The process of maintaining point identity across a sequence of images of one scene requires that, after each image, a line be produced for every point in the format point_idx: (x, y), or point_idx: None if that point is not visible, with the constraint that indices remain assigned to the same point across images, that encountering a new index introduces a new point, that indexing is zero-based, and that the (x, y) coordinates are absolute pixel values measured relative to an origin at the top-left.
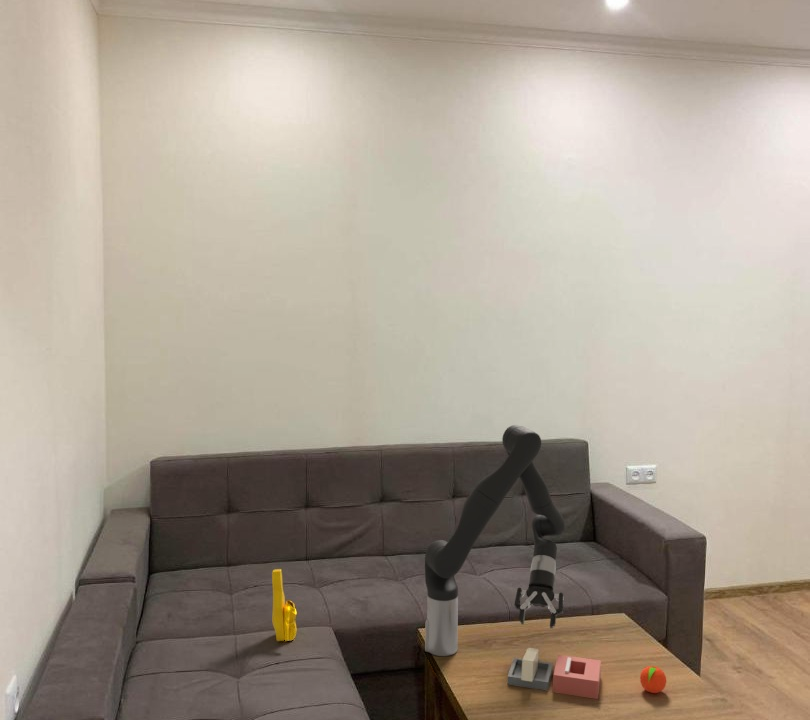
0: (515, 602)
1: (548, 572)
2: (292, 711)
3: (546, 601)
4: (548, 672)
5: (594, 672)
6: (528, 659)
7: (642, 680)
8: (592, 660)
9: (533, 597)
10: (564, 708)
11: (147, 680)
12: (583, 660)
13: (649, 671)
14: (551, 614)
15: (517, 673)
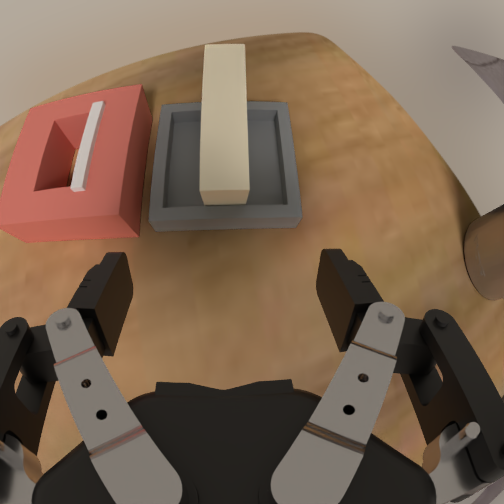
0: (458, 331)
1: None
2: (489, 57)
3: (111, 389)
4: (161, 154)
5: (25, 144)
6: (223, 52)
7: None
8: (14, 215)
9: (316, 420)
10: (129, 75)
11: None
12: (37, 204)
13: None
14: (92, 302)
15: (267, 159)
